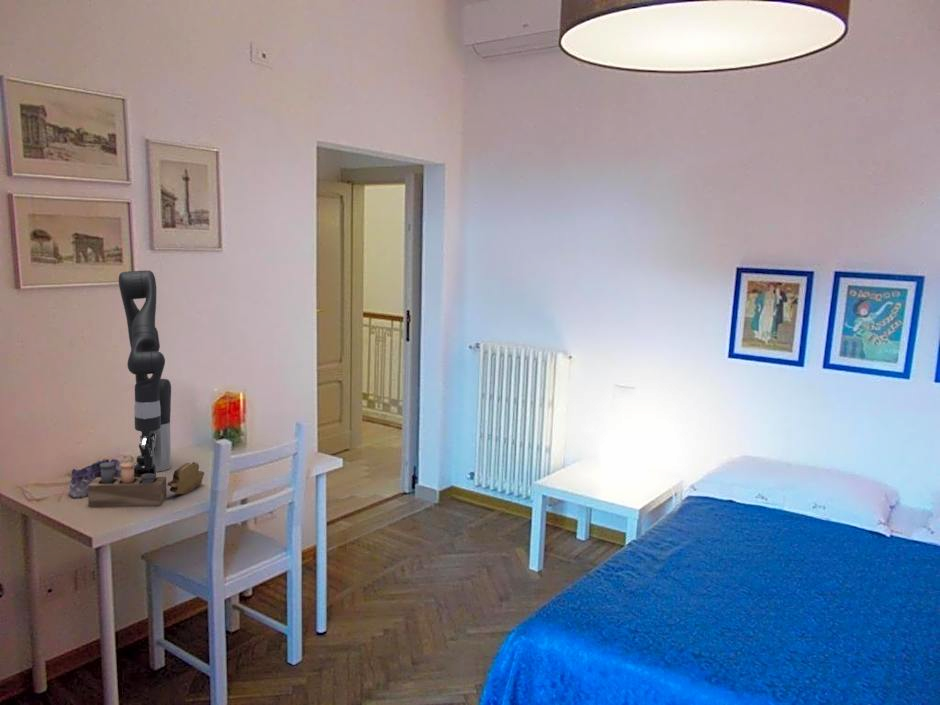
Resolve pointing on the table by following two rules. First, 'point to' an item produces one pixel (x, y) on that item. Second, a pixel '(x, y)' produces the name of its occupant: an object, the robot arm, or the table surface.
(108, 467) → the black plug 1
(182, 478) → the wooden carving
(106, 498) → the walnut socket block
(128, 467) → the terracotta plug
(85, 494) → the geode
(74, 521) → the table surface
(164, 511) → the table surface
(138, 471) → the supplement bottle
